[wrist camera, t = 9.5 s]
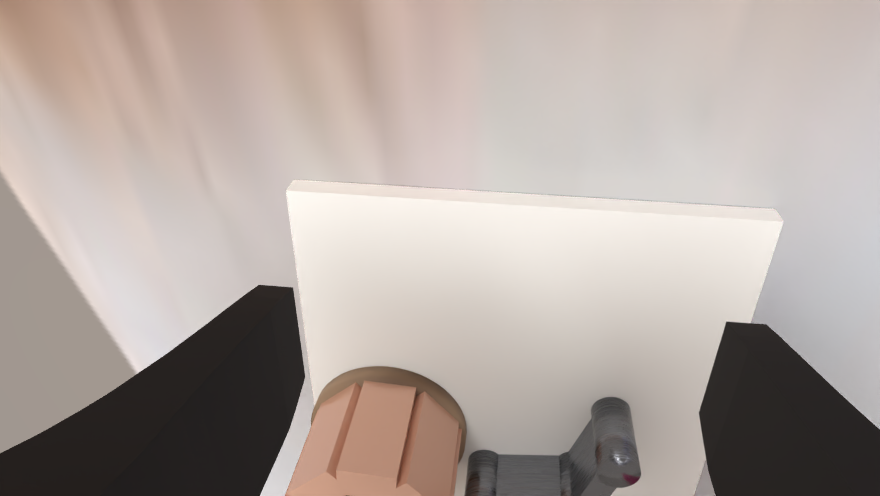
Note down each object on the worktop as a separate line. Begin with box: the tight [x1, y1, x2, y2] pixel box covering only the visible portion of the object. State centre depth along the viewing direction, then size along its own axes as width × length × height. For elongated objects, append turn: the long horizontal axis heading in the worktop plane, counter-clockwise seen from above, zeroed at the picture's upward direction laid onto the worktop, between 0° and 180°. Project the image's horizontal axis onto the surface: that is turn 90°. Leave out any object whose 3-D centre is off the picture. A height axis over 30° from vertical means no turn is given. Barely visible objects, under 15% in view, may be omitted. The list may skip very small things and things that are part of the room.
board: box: [286, 180, 784, 496], centre depth 24 cm, size 15×16×1 cm
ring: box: [285, 381, 462, 496], centre depth 23 cm, size 6×6×4 cm
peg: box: [311, 366, 467, 496], centre depth 23 cm, size 6×6×5 cm
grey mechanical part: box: [464, 397, 641, 496], centre depth 24 cm, size 6×5×3 cm
